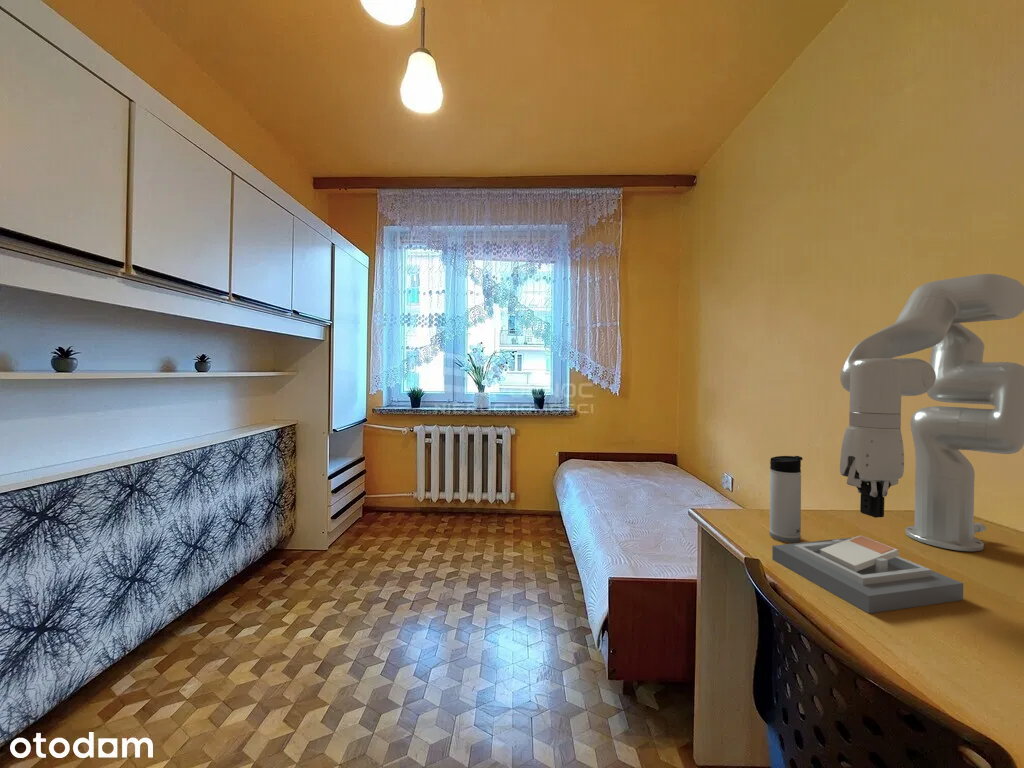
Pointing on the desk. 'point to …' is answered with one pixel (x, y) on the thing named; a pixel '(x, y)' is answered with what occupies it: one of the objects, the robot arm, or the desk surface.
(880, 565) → the switch plate
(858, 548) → the rocker switch
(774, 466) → the travel mug
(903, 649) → the desk surface
